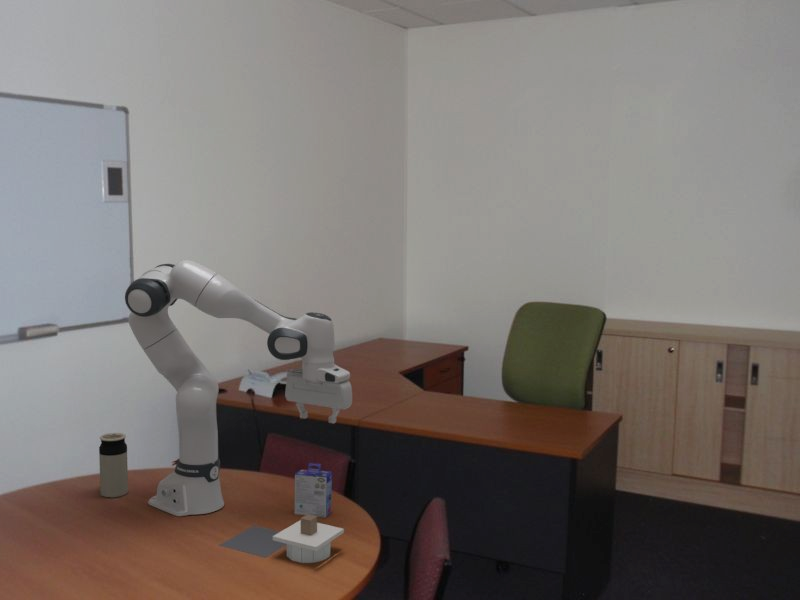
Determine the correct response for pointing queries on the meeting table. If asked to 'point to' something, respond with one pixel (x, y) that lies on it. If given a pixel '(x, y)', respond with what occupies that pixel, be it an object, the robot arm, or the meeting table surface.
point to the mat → (255, 541)
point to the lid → (308, 533)
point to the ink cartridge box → (313, 492)
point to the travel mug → (113, 465)
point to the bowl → (308, 553)
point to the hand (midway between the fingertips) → (317, 420)
